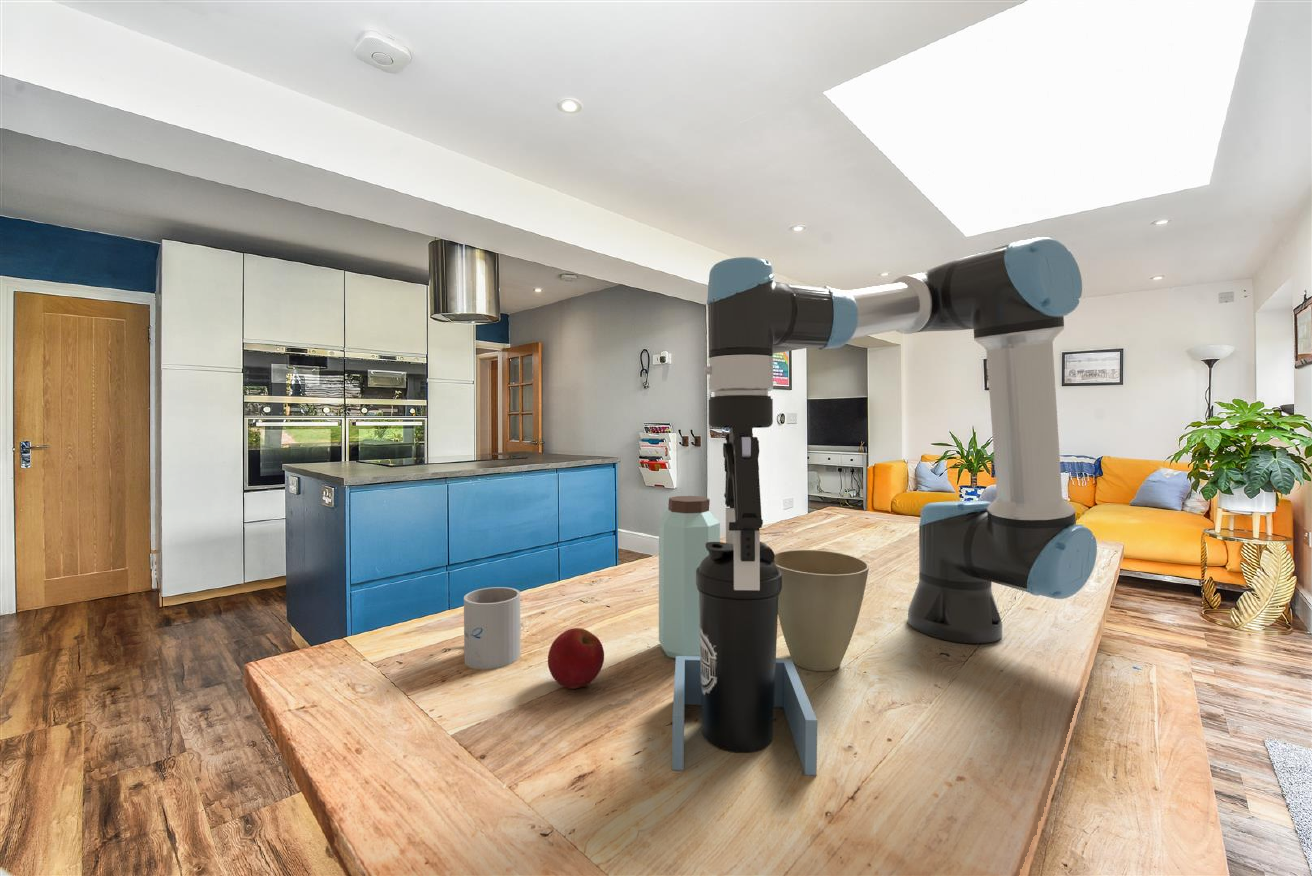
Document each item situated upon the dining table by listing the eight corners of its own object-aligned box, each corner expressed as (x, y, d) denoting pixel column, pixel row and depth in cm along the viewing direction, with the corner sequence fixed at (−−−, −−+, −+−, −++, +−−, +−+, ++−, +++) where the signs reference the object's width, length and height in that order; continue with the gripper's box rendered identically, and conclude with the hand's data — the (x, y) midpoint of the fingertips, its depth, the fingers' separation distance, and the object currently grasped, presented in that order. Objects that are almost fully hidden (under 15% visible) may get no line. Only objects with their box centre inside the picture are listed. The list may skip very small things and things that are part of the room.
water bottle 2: (689, 712, 74) (690, 536, 73) (766, 709, 74) (768, 534, 74) (702, 759, 63) (703, 555, 63) (791, 755, 64) (794, 553, 63)
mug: (526, 662, 88) (526, 599, 88) (469, 674, 85) (468, 607, 84) (508, 635, 99) (508, 579, 99) (457, 644, 95) (456, 585, 95)
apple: (559, 704, 76) (558, 644, 75) (541, 679, 83) (541, 625, 83) (611, 691, 79) (611, 634, 79) (590, 668, 86) (590, 616, 86)
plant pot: (760, 674, 84) (761, 568, 84) (775, 638, 98) (776, 546, 98) (867, 691, 79) (869, 578, 79) (867, 650, 93) (868, 553, 93)
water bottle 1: (716, 666, 87) (717, 504, 86) (652, 660, 89) (652, 502, 88) (721, 641, 97) (722, 495, 96) (664, 636, 99) (664, 493, 98)
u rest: (790, 703, 76) (791, 658, 76) (816, 775, 61) (817, 720, 60) (675, 699, 77) (675, 655, 77) (672, 770, 62) (672, 715, 61)
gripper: (705, 397, 80) (706, 547, 81) (712, 390, 55) (714, 606, 56) (759, 397, 79) (759, 547, 80) (791, 389, 55) (791, 607, 55)
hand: (741, 572), depth 68 cm, fingers open, 13 cm apart
